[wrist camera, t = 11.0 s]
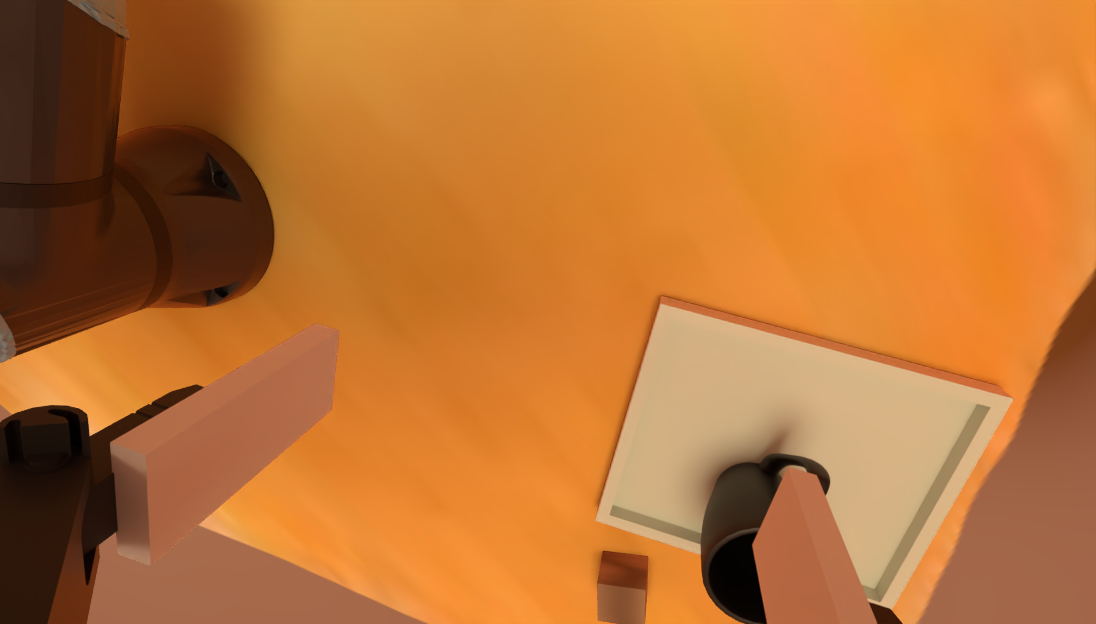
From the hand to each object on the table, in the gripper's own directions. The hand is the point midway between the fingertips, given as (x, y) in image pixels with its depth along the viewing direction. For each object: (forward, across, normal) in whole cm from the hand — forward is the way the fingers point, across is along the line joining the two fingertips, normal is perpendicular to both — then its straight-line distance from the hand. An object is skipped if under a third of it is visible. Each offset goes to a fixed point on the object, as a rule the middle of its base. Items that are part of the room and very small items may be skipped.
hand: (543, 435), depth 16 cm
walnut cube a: (+28, +8, -29) cm, 41 cm away
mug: (+27, +16, -15) cm, 35 cm away
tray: (+28, +16, -13) cm, 35 cm away
